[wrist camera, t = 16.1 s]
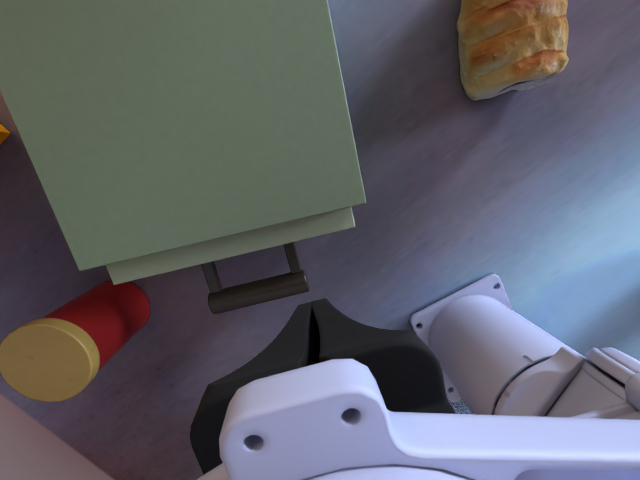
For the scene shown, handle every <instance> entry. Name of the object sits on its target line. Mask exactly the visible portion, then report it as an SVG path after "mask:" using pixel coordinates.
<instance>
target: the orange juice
mask: <svg viewBox="0 0 640 480" xmlns="http://www.w3.org/2000/svg"><path fill="white" fill-rule="evenodd" d="M10 134H11V133H10V132H9V131H8V130H7V129H6V128H5V127H3V126H2V125H1V124H0V145H1V144H2V143H3V142H4V140H5V139H6V138H7V137H8V136H9V135H10Z"/></svg>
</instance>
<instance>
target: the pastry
mask: <svg viewBox="0 0 640 480" xmlns="http://www.w3.org/2000/svg"><path fill="white" fill-rule="evenodd" d="M566 10H567V0H462V2H461V11H460V15H459V19H458V21H457V31H458V32H459V35H458V47H459V58H460V67H461V68H460V75H461V82H462V85H463V87H464V89H465V92H466V94H467V96H468V98H470V99H472V100H480V99H489V98H492V97H495V96H497V95H500V94H504V93H505V92H508V91H510V90H528V89H531V88H534V87H538V86H540V85H542V84H544V83H546V82H547V81H548V80H550V79H552V78H553V77H555V76H557V75H558V74H559V73H560V72H561V71H562V70H563V69H564V68H565V67H566V65H567V63H568V61H569V59H568V56H567V55H566V49H567V42H568V22H567V19H566Z"/></svg>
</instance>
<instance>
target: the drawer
mask: <svg viewBox="0 0 640 480" xmlns="http://www.w3.org/2000/svg"><path fill="white" fill-rule="evenodd" d="M354 227H355V223H354V218H353V213H352V208H351V207H348V208H344V209H340V210H336V211H331V212H327V213H323V214H319V215H315V216H310V217H306V218H302V219H298V220H294V221H289V222H285V223H281V224H277V225H273V226H268V227H264V228H260V229H256V230H252V231H247V232H243V233H239V234H235V235H231V236H226V237H222V238H218V239H214V240H210V241H206V242H201V243H197V244H193V245H189V246H185V247H180V248H176V249H172V250H168V251H164V252H159V253H155V254H151V255H147V256H143V257H138V258H134V259H130V260H126V261H122V262H117V263H113V264H109V265H106V268H107V270H108V272H109V275H110V277H111V280H112V282H113V284H114V285H116V284H121V283H125V282H129V281H133V280H137V279H141V278H146V277H150V276H154V275H158V274H162V273H166V272H171V271H175V270H179V269H183V268H187V267H192V266H196V265H200V264H201V265H202V268H203V271H204V274H205V277H206V280H207V283H208V286H209V289H210V293H209V295H208V303H209V307H210V310H211V312H212V313H213V314H218V313H222V312H226V311H230V310H234V309H239V308H243V307H247V306H251V305H255V304H259V303H263V302H267V301H271V300H276V299H280V298H284V297H288V296H292V295H296V294H300V293H304V292H308V291H309V285H308V281H307V277H306V273H305V270H301V267H300V263H299V260H298V256H297V252H296V248H295V244H294V242H296V241H300V240H304V239H308V238H313V237H317V236H321V235H325V234H329V233H333V232H338V231H342V230H346V229H350V228H354ZM283 244H284V248H285V251H286V255H287V259H288V263H289V266H290V270H291V272H290V273H286V274H282V275H278V276H274V277H270V278H266V279H262V280H257V281H253V282H249V283H245V284H241V285H237V286H233V287H228V288H224V289H222V285H221V282H220V279H219V276H218V273H217V270H216V267H215V264H214V261H217V260H221V259H225V258H229V257H233V256H237V255H242V254H246V253H250V252H254V251H258V250H262V249H267V248H271V247H275V246H279V245H283Z"/></svg>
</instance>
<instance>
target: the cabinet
mask: <svg viewBox="0 0 640 480" xmlns="http://www.w3.org/2000/svg"><path fill="white" fill-rule="evenodd" d="M0 91H1V93H2V95H3V98H4V100H5V102H6V105H7V107H8V109H9V111H10V114H11V116H12V118H13V121H14V123H15V125H16V127H17V130H18V132H19V134H20V137H21V139H22V141H23V143H24V146H25V148H26V150H27V153H28V155H29V157H30V159H31V162H32V164H33V166H34V169H35V171H36V173H37V175H38V178H39V180H40V182H41V185H42V187H43V189H44V191H45V194H46V196H47V198H48V201H49V203H50V205H51V207H52V210H53V212H54V214H55V217H56V219H57V221H58V223H59V226H60V228H61V230H62V233H63V235H64V237H65V240H66V242H67V244H68V246H69V249H70V251H71V253H72V256H73V258H74V260H75V262H76V265H77V267H78V269H79V271H84V270H88V269H92V268H96V267H101V266H105V265H109V264H113V263H117V262H122V261H126V260H130V259H134V258H138V257H143V256H147V255H151V254H155V253H159V252H164V251H168V250H172V249H176V248H180V247H185V246H189V245H193V244H197V243H201V242H206V241H210V240H214V239H218V238H222V237H226V236H231V235H235V234H239V233H243V232H247V231H252V230H256V229H260V228H264V227H268V226H273V225H277V224H281V223H285V222H289V221H294V220H298V219H302V218H306V217H310V216H315V215H319V214H323V213H327V212H331V211H336V210H340V209H344V208H348V207H352V206H357V205H361V204H365V203H366V198H365V193H364V188H363V183H362V177H361V172H360V167H359V162H358V157H357V151H356V146H355V141H354V136H353V131H352V125H351V120H350V115H349V110H348V105H347V99H346V94H345V89H344V84H343V78H342V73H341V68H340V63H339V58H338V52H337V47H336V42H335V37H334V32H333V26H332V21H331V16H330V11H329V6H328V0H0Z"/></svg>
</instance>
